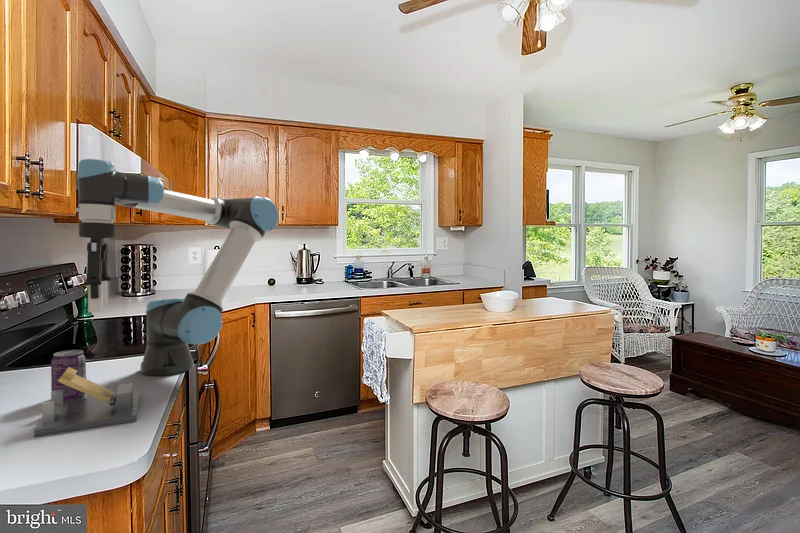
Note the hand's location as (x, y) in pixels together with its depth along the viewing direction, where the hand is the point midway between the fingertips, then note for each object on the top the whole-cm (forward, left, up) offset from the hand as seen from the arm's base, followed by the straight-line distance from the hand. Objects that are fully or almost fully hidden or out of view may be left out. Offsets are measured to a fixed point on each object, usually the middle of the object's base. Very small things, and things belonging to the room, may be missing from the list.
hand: (98, 308), depth 107 cm
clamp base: (+7, +7, -24) cm, 26 cm away
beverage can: (+1, -9, -24) cm, 26 cm away
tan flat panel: (+8, +6, -18) cm, 21 cm away
